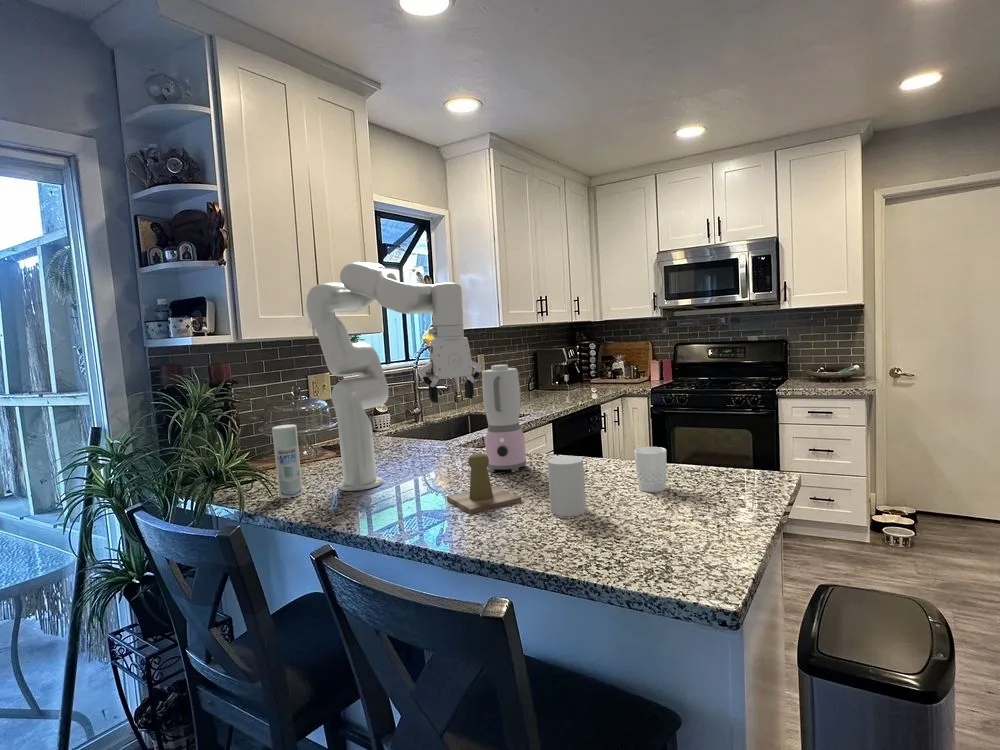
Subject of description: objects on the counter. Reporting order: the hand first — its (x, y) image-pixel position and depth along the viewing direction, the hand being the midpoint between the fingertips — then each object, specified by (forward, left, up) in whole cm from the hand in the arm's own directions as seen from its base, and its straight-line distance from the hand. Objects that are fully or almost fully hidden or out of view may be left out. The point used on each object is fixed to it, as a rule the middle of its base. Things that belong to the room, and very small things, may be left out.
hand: (452, 400), depth 146 cm
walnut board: (+5, +4, -26) cm, 27 cm away
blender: (-19, +24, -26) cm, 40 cm away
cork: (+5, +4, -25) cm, 26 cm away
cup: (+25, +16, -26) cm, 40 cm away
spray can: (-38, -36, -26) cm, 58 cm away
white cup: (+25, +42, -26) cm, 56 cm away
